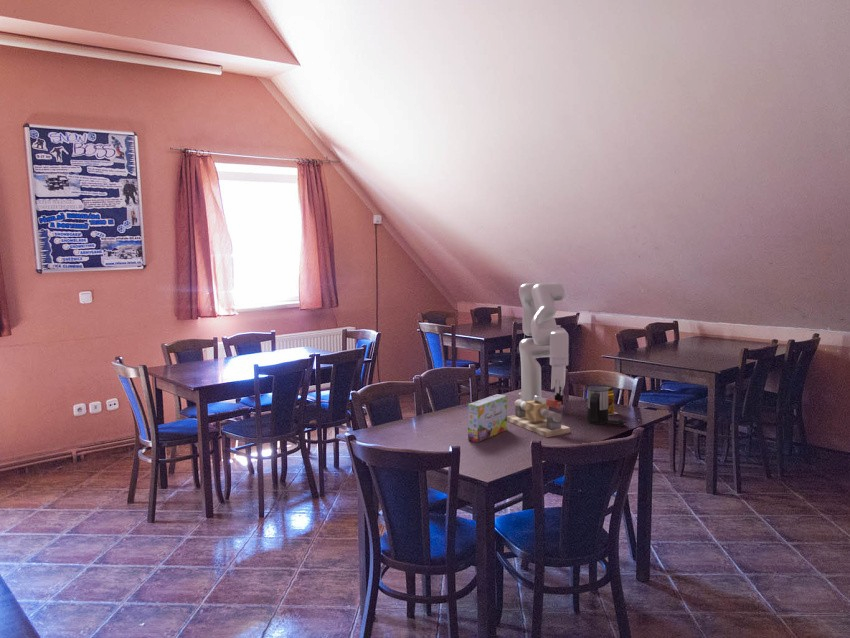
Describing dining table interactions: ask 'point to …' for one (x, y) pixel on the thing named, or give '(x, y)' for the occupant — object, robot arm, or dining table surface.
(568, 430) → the valve stand
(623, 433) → the dining table surface
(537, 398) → the valve lever
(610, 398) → the condiment
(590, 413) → the milk frother
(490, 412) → the snack box
